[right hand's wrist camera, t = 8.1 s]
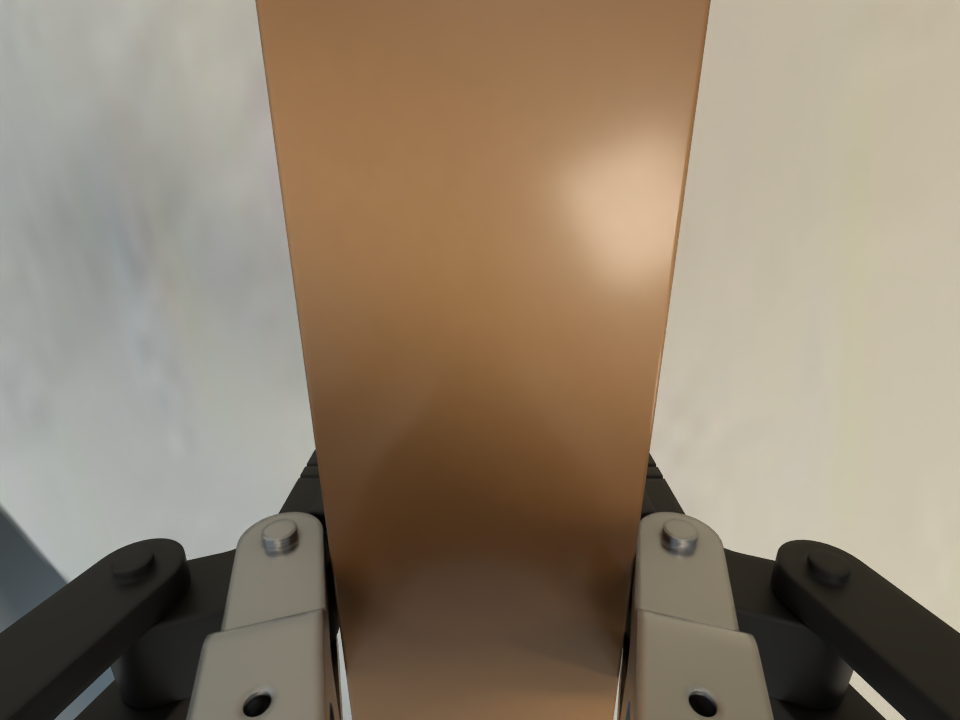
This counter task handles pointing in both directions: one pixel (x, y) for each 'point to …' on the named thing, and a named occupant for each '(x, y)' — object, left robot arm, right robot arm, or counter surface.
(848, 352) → the counter surface
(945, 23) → the counter surface
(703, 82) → the counter surface
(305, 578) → the right robot arm
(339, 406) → the bar
